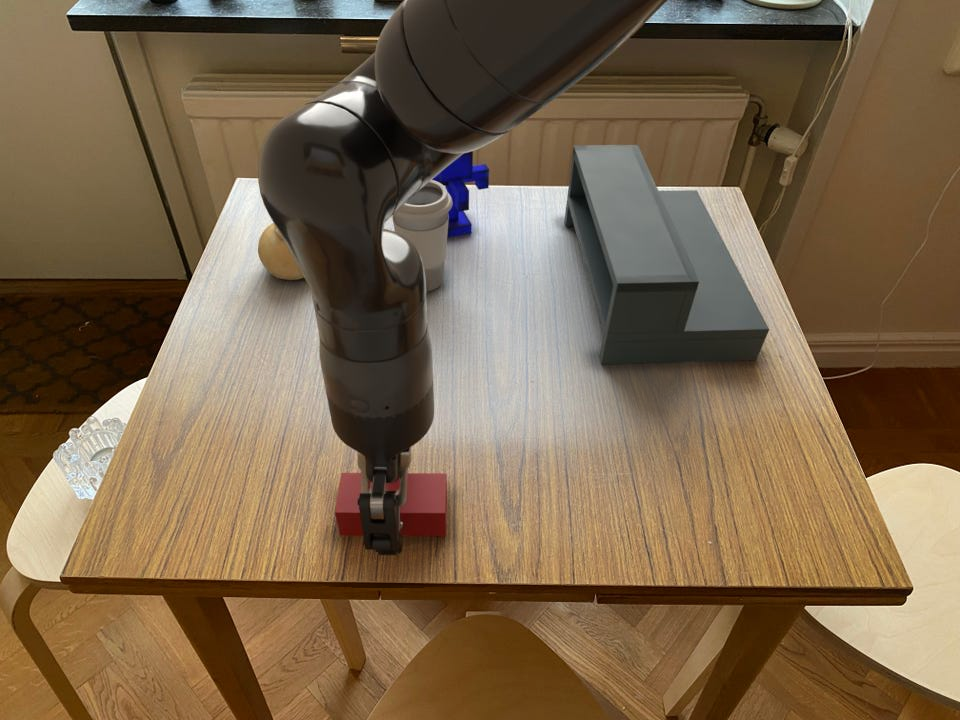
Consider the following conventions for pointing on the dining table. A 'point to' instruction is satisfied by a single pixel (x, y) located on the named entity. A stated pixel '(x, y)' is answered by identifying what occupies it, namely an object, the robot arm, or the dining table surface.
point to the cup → (427, 228)
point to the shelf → (656, 266)
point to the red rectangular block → (417, 514)
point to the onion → (277, 255)
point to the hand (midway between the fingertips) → (393, 505)
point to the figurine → (461, 190)
